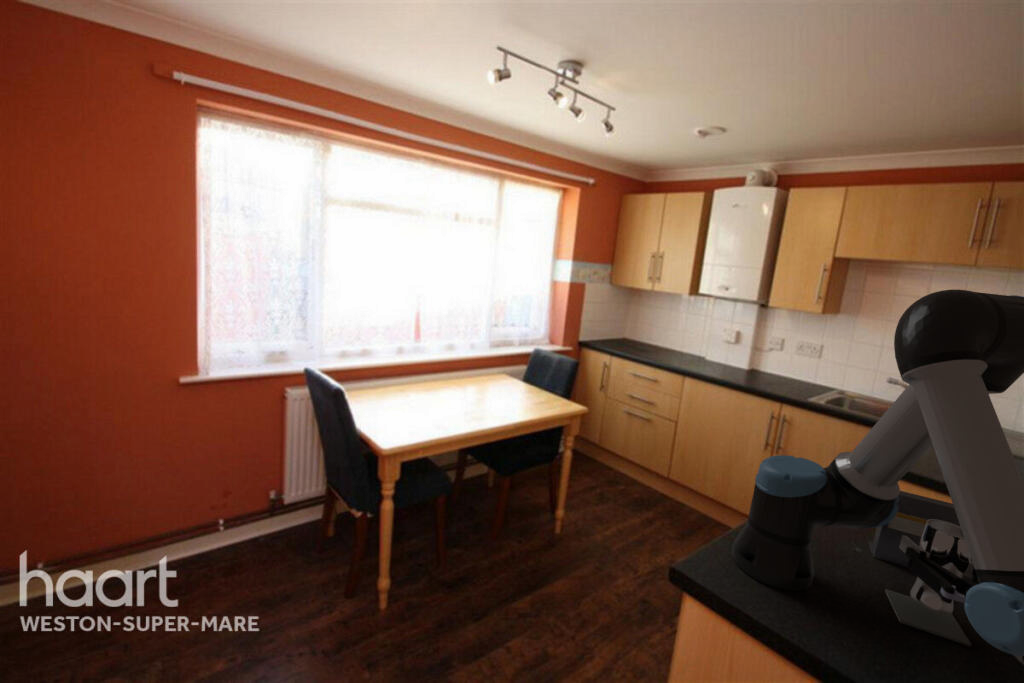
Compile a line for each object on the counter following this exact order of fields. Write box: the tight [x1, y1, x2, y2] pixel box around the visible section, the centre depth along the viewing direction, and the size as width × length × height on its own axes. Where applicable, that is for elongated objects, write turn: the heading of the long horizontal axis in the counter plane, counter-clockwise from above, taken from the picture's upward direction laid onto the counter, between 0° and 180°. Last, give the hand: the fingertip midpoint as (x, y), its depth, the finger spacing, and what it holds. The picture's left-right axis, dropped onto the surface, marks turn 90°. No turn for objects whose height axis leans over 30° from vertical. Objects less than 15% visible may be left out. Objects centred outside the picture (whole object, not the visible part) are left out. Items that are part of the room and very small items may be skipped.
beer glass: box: [909, 519, 971, 614], centre depth 86 cm, size 7×7×15 cm
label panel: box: [868, 490, 977, 585], centre depth 104 cm, size 19×6×16 cm, turn 64°
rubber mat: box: [884, 588, 972, 647], centre depth 88 cm, size 10×10×1 cm
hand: (924, 545), depth 91 cm, fingers closed on beer glass, 7 cm apart
